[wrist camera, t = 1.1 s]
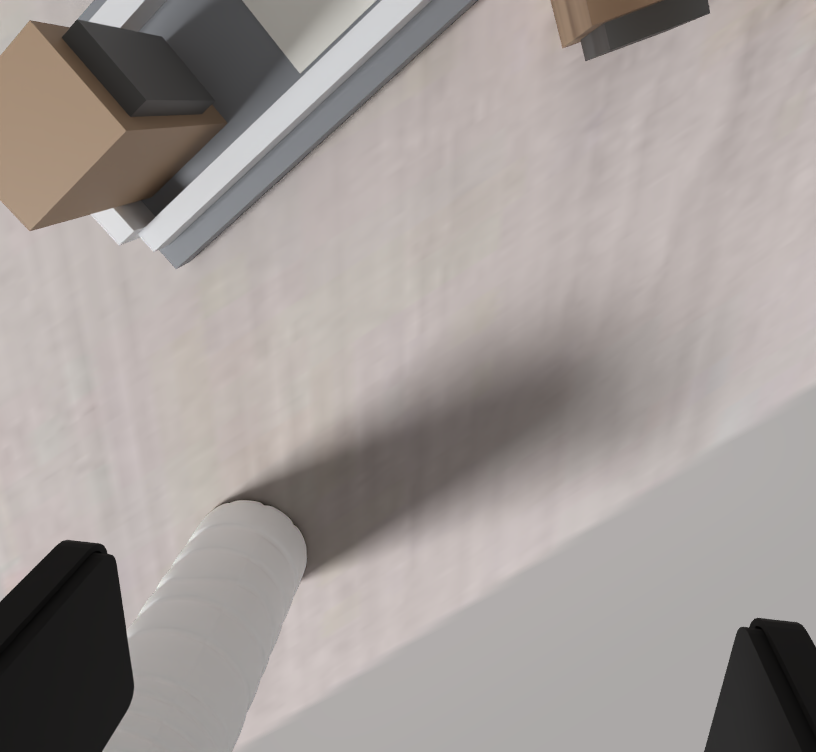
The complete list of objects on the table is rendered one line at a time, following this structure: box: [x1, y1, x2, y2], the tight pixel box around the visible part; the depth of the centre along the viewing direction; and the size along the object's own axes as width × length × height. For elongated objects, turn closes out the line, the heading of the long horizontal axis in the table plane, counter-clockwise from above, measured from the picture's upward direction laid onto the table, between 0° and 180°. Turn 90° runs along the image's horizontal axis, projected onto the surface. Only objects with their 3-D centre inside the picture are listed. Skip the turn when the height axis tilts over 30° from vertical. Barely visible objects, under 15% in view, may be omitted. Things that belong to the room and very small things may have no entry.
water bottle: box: [102, 500, 307, 752], centre depth 28 cm, size 9×6×25 cm
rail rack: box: [0, 0, 478, 269], centre depth 25 cm, size 18×10×10 cm, turn 129°
